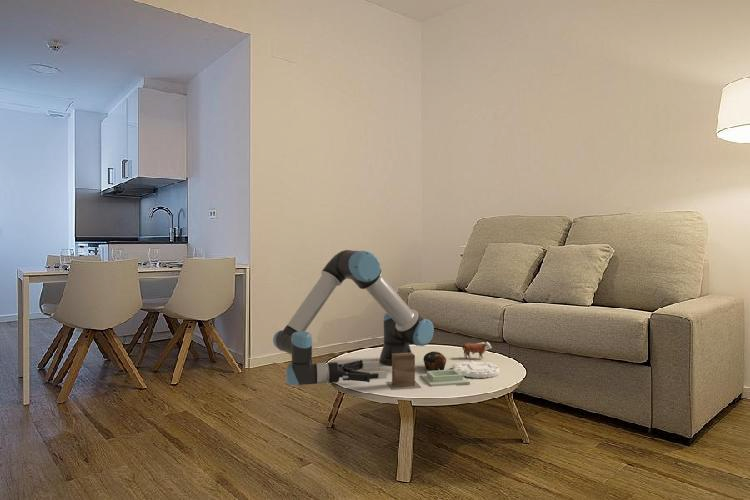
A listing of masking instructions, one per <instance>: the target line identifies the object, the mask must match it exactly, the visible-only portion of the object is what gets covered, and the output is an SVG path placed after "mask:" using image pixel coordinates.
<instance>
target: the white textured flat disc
mask: <svg viewBox="0 0 750 500" xmlns="http://www.w3.org/2000/svg"><path fill="white" fill-rule="evenodd" d="M453 369H456V370H457V371H458V372H460V373H461V374H462V375H463V377H468V378H473V379H480V378H483V379H490V378H491V377H492V378H494V377H498V375H499V374H500V372H501V370H500V367H499V366H498V364H495V363H492V362H488V361H486V362H482V361H474V360H473V359H470V360H469V361H462V362H460V361H459V362H454V363H453V364H452V365H451V370H453ZM487 377H488V378H487Z"/></svg>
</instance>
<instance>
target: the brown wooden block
mask: <svg viewBox="0 0 750 500" xmlns="http://www.w3.org/2000/svg"><path fill="white" fill-rule="evenodd" d="M415 381H416V355H415V354H414V352H412V353H395V354H392V365H391V382H392V384H393V386H394V387H407V386H415Z"/></svg>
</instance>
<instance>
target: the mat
mask: <svg viewBox="0 0 750 500" xmlns="http://www.w3.org/2000/svg"><path fill="white" fill-rule="evenodd" d="M385 384H386V385H387V386H388V387H389V390H390V391H396V390H397V391H398V390H399V391H400V390H412V389H422V386H421V385H420V384H419V382H417V381H416V380H415V386H407V387H394V386H393V384H392V381H385Z"/></svg>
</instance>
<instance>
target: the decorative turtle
mask: <svg viewBox="0 0 750 500" xmlns="http://www.w3.org/2000/svg"><path fill="white" fill-rule="evenodd" d="M423 363H424V366H425V368H426V369H427V370H428V371H436V370H437V369H438V370H445V368H446V364H447V358H446V357H445V355H444V354H443V353H441V352H439V351H433V350H432V351H429V352H427V353H426V354H425V355H424V356H423Z"/></svg>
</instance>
